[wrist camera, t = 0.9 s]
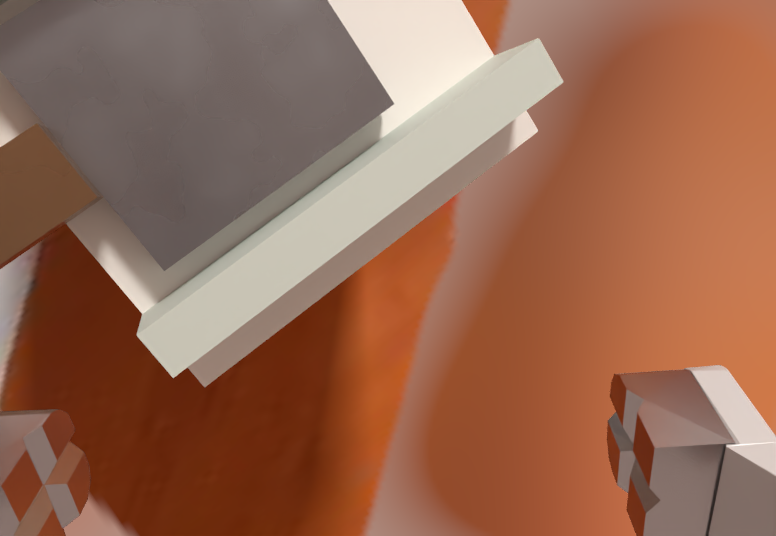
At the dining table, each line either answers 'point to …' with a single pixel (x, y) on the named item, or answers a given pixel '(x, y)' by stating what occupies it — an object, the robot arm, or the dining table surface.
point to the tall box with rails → (326, 185)
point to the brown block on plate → (172, 112)
